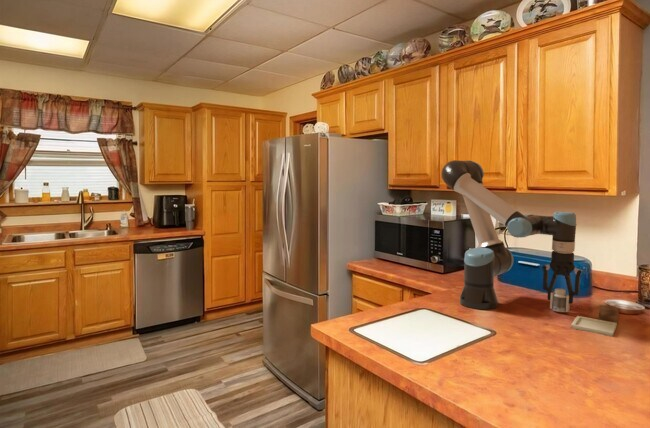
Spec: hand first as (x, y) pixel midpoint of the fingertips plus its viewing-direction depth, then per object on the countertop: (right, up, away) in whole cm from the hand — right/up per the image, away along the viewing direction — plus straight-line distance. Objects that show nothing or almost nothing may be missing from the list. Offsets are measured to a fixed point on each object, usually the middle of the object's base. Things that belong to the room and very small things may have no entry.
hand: (559, 309), depth 153 cm
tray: (+3, -2, -16) cm, 16 cm away
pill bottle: (0, -1, 0) cm, 1 cm away
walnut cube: (+12, -2, -10) cm, 16 cm away
